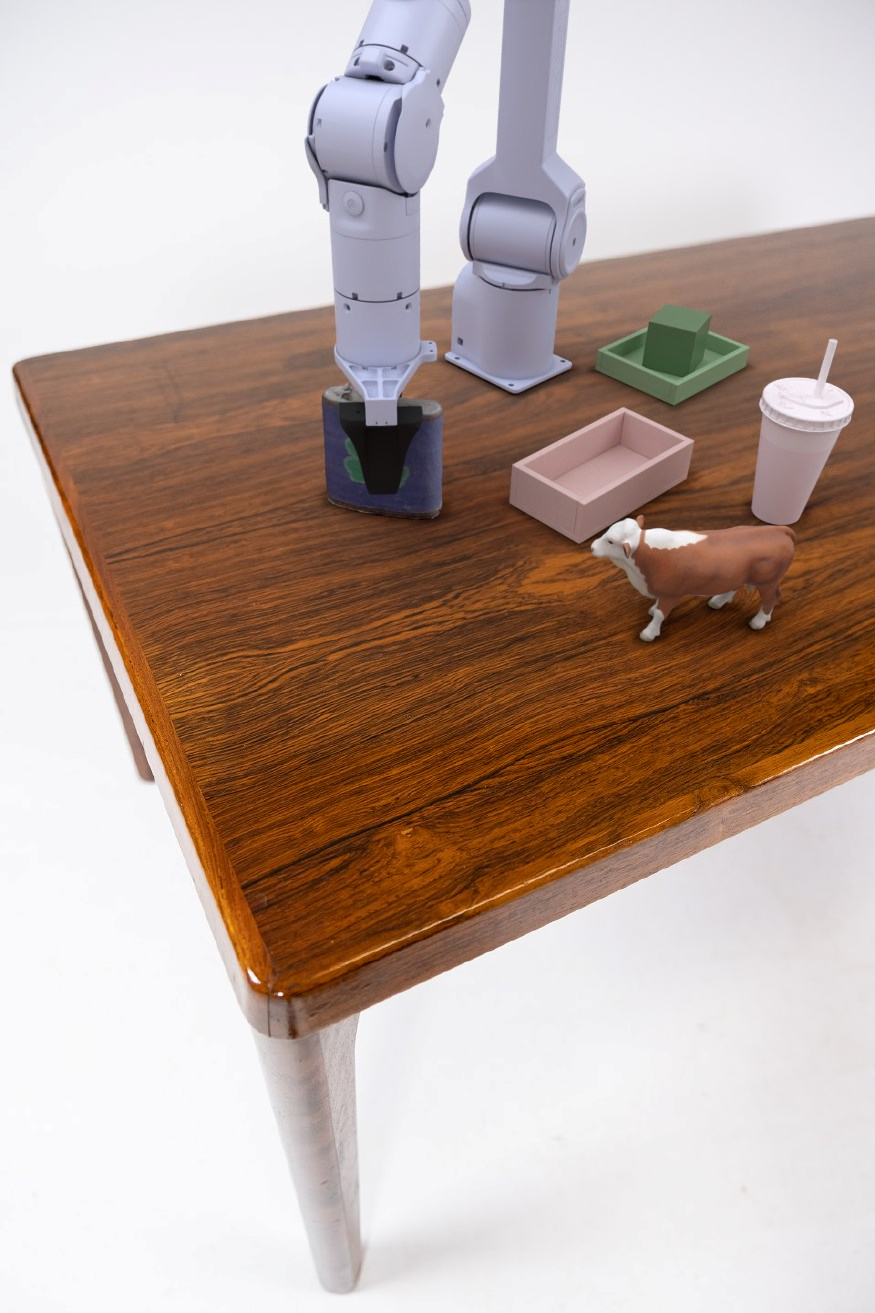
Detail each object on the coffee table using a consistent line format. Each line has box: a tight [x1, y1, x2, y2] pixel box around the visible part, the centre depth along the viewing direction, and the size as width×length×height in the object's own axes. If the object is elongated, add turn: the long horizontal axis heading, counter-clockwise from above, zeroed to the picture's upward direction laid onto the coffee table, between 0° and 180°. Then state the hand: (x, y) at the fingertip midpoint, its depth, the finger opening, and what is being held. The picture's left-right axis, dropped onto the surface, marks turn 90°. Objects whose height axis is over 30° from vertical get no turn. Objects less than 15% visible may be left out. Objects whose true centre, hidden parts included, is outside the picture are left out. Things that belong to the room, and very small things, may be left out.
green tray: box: [594, 326, 751, 406], centre depth 95 cm, size 9×11×2 cm
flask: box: [321, 382, 445, 520], centre depth 75 cm, size 9×3×11 cm, turn 74°
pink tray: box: [508, 406, 695, 545], centre depth 79 cm, size 7×13×4 cm, turn 133°
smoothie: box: [750, 338, 855, 526], centre depth 74 cm, size 6×6×14 cm
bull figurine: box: [590, 514, 797, 642], centre depth 66 cm, size 4×13×8 cm, turn 95°
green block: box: [642, 303, 713, 377], centre depth 94 cm, size 4×4×4 cm
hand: (381, 463), depth 76 cm, fingers open, 7 cm apart
